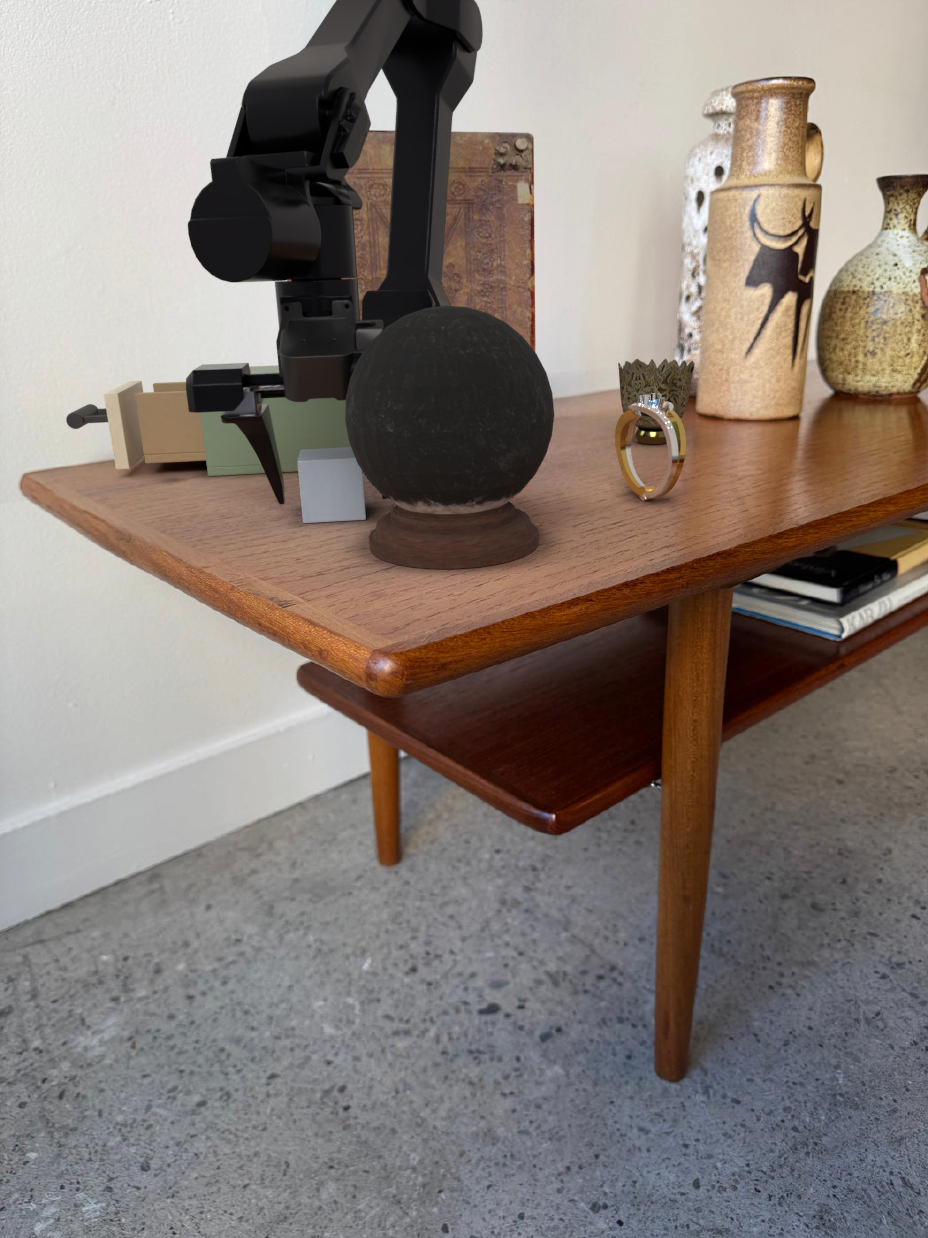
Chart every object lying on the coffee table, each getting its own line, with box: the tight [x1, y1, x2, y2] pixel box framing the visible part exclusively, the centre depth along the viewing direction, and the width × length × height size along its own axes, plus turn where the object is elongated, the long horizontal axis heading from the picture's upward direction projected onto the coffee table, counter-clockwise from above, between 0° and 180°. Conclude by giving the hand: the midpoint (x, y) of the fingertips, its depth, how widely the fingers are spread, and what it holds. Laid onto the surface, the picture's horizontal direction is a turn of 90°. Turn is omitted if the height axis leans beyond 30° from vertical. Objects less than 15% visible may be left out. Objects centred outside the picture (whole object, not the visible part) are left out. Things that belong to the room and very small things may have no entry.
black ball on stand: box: [345, 306, 555, 570], centre depth 59 cm, size 13×13×15 cm
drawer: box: [65, 380, 206, 471], centre depth 88 cm, size 17×10×7 cm, turn 97°
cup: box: [617, 358, 696, 445], centre depth 93 cm, size 8×7×8 cm
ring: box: [614, 393, 687, 501], centre depth 70 cm, size 7×3×8 cm, turn 23°
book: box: [286, 129, 536, 352], centre depth 100 cm, size 25×9×30 cm, turn 110°
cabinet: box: [200, 364, 351, 477], centre depth 89 cm, size 14×12×9 cm
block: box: [297, 447, 367, 524], centre depth 69 cm, size 5×5×5 cm
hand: (333, 500), depth 69 cm, fingers open, 7 cm apart
